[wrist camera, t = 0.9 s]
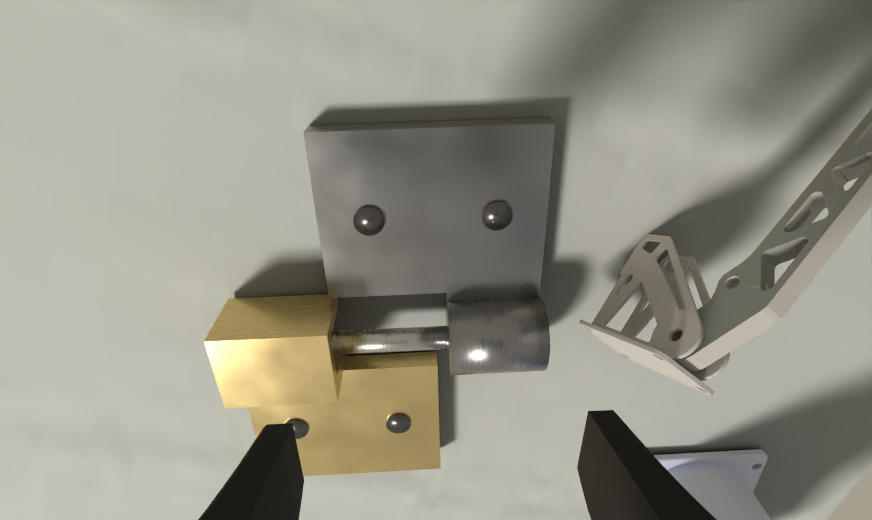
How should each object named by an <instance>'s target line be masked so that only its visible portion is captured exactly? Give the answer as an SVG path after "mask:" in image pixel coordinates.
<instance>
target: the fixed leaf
mask: <svg viewBox="0 0 872 520" xmlns="http://www.w3.org/2000/svg"><path fill="white" fill-rule="evenodd" d="M555 127H556V123H555V122H554V121H553V120H551V119H550V118H549V117H538V118H510V119H481V120H452V121H424V122H395V123H366V124H338V125H309V126H308V127H307V128H306V130H305V131H304V138H305V145H306V151H307V158H308V164H309V171H310V177H311V184H312V191H313V197H314V204H315V210H316V217H317V223H318V230H319V237H320V243H321V250H322V256H323V263H324V269H325V276H326V283H327V289H328V296H329V298H345V297H367V296H389V295H411V294H433V293H446V326H431V327H410V328H389V329H368V330H347V331H333V332H332V337H331V341H332V347H333V354H334V355H338V354H358V353H379V352H399V351H420V350H440V349H448V361H449V370H450V375H464V374H484V373H504V372H524V371H544V370H546V368H547V366H548V362H549V355H550V334H549V324H548V318H547V313H546V309H545V306H544V303H543V301H542V299H541V298H540V289H541V278H542V267H543V256H544V246H545V235H546V224H547V213H548V202H549V191H550V181H551V170H552V159H553V148H554V137H555Z"/></svg>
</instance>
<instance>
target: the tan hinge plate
mask: <svg viewBox="0 0 872 520" xmlns="http://www.w3.org/2000/svg"><path fill="white" fill-rule="evenodd" d="M337 310H338V298H329V296H328V294H320V295H298V296H275V297H253V298H231V299H228V301H227V302H226V304H225V306H224V308H223V309H222V311H221V313H220V314H219V316H218V318H217V320H216V321H215V323H214V325H213V327H212V328H211V330H210V332H209V333H208V335H207V337H206V339H205V340H204V344H205V347H206V350H207V353H208V357H209V360H210V363H211V366H212V369H213V373H214V376H215V379H216V382H217V385H218V389H219V392H220V395H221V398H222V401H223V405H224V408H241V407H248V409H249V412H250V416H251V420H252V423H253V427H254V430H255V434H256V437H258V435H259V434H260V432H261V430H262V429H263V428H264V427H265V426H266V425H267V424H288V423H293V428H294V433H295V438H296V443H297V448H298V453H299V458H300V462H301V467H302V472H303V476H313V475H331V474H349V473H367V472H385V471H403V470H421V469H439V468H440V434H439V398H438V365H437V352H418V353H398V354H377V355H357V356H346V354H338V355H334V354H333V347H332V341H331V337H332V332H333V328H334V323H335V319H336V314H337Z"/></svg>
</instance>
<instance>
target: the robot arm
mask: <svg viewBox="0 0 872 520" xmlns="http://www.w3.org/2000/svg"><path fill="white" fill-rule="evenodd" d="M767 460H768V456H767V455H766V453H765V452H764V451H763V450H759V449H754V450H736V451H719V452H701V453H683V454H665V455H653V454H652V453H651V452H650V451H649V450H648V449H647V448H646V447H645V445H644V444H643V443H642V442H641V441H640V440H639V439H638V438H637V437H636V435H635V434H634V433H633V432H632V431H631V430H630V429H629V427H628V426H627V425H626V424H625V423H624V422H623V421H622V420H621V418H620V417H619V416H618V415H617V414H616V413H615V412H614V411H613V410H607V411H588V415H587V420H586V425H585V431H584V436H583V441H582V446H581V451H580V456H579V462H578V467H577V468H578V473H579V477H580V481H581V485H582V489H583V493H584V497H585V500H586V504H587V508H588V511H589V514H590V517H591V520H771V519H770V517H769V516H768V514H767V513H766V511H765V510H764V508H763V507H762V505H761V504H760V503H759V501H758V500H757V498H756V497H755V495H754V494H753V492H754V489H755V487H756V485H757V483H758V480H759V478H760V476H761V473H762V471H763V469H764V467H765V464H766V462H767ZM303 484H304V477H303V472H302V467H301V462H300V458H299V453H298V448H297V443H296V438H295V433H294V428H293V423H288V424H267V425H266V426H265V427H264V428H263V429H262V430H261V432H260V434H259V435H258V437H257V438H256V440H255V441H254V443H253V444H252V446H251V447H250V449H249V450H248V452H247V453H246V455H245V456H244V458H243V459H242V461H241V462H240V464H239V465H238V467H237V468H236V469H235V471H234V472H233V474H232V475H231V477H230V478H229V479H228V481H227V482H226V483H225V485H224V486H223V488H222V489H221V490H220V492H219V493H218V494H217V496H216V497H215V498H214V500H213V501H212V503H211V504H210V505H209V507H208V508H207V509H206V511H205V512H204V513H203V514H202V516H201V517H200V518H199V519H198V520H299V513H300V506H301V499H302V492H303Z"/></svg>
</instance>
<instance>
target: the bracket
mask: <svg viewBox="0 0 872 520" xmlns="http://www.w3.org/2000/svg"><path fill="white" fill-rule="evenodd" d="M858 177H859V178H858ZM856 178H858V179H857V180H856V182H855V183H854V184H853V185H852V187H851V188H850V189H849V190H847V191H844V188H843V187H844V185H845V184H846V183H847V182H849V181H851V180H853V179H856ZM871 206H872V109H871V110H870V111H869V113H868V114H867V115H866V116H865V118H864V119H863V120H862V121H861V122H860V124H859V125H858V126H857V127H856V128H855V130H854V131H853V132H852V133H851V135H850V136H849V137H848V138H847V139H846V141H845V142H844V143H843V144H842V145H841V147H840V148H839V149H838V150H837V152H836V153H835V154H834V155H833V156H832V158H831V159H830V160H829V161H828V162H827V164H826V165H825V166H824V167H823V169H822V170H821V171H820V172H819V173H818V175H817V176H816V177H815V178H814V179H813V181H812V182H811V183H810V184H809V186H808V187H807V188H806V189H805V190H804V192H803V193H802V194H801V195H800V196H799V198H798V199H797V200H796V201H795V203H794V204H793V205H792V206H791V207H790V209H789V210H788V211H787V212H786V213H785V215H784V216H783V217H782V218H781V220H780V221H779V222H778V223H777V224H776V226H775V227H774V228H773V229H772V230H771V232H770V233H769V234H768V235H767V236H766V238H765V239H764V240H763V241H762V243H761V244H760V245H759V246H758V247H757V249H756V250H755V251H754V252H753V253H752V254H751V255H750V256H749V257H748V258H747V259H746V260H745V261H743V262H742V263H741V264H739V265H738V266H736V267H735V268H733V269H732V270H730V271H729V272H727V273H726V274H724V275H723V276H722V277H721V279H720V280H719V282H718V285H717V288H716V291H715V293H714V295H713V297H712V298H711V299H710V297H709V294H708V292H707V289H706V287H705V284H704V281H703V279H702V276H701V274H700V271H699V268H698V266H697V263H696V260H695V259H694V258H693V257H692V256H685V255H678V253H677V251H676V248H675V245H674V242H673V239H672V238H671V237H670V236H662V235H652V234H647V235H646V236H645V237H644V238H643V239H642V240H641V241H639V243H638V244H637V246H636V248H635V249H634V251H633V253H632V254H631V256H630V258H629V259H628V261H627V262H626V264H625V266H624V267H623V269H622V271H621V272H620V274H621V277H620V278H619V280H618V282H617V283H616V285H615V286H614V288H613V290H612V291H611V293H610V295H609V296H608V298H607V300H606V301H605V303H604V304H603V306H602V308H601V309H600V311H599V313H598V314H597V316H596V318H595V319H594V321H593V322H592V324H590V323H588V322H585V321H583V320H580V322H579V324H580V325H581V326H582V327H584V328H585V329H586V330H588V331H589V332H590V333H592V334H593V335H595V336H596V337H597V338H599V339H600V340H601V341H603V342H604V343H606V344H607V345H608V346H610V347H611V348H612V349H614V350H615V351H617V352H618V353H619V354H621V355H622V356H624V357H626V358H628V359H630V360H632V361H634V362H636V363H639V364H641V365H643V366H645V367H647V368H650V369H652V370H654V371H656V372H659V373H661V374H663V375H665V376H668V377H670V378H672V379H674V380H677V381H679V382H681V383H683V384H686V385H688V386H690V387H692V388H694V389H697V390H699V391H701V392H703V393H706V394H708V395H711V396H712V395H713V393H714V391H713V390H712V389H711V388H709V387H708V386H707V385H705V384H704V383H703V382H702V381H703V380H708V379H711V378H713V377H715V376H717V375H718V374H719V373H721V372H722V371H723V369H724V368H725V367H726V365H727V363H728V361H729V357H730V352H731V351H733V350H734V349H736V348H737V347H739V346H740V345H742V344H744V343H745V342H747V341H748V340H750V339H752V338H753V337H755V336H756V335H758V334H760V333H761V332H763V331H764V330H766V329H767V328H769V327H771V326H772V325H774V324H775V323H777V322H778V321H779V320H780V319H782V317H783V316H784V315H785V313H786V312H787V311H788V310H789V308H790V307H791V306H792V305H793V303H794V302H795V301H796V300H797V298H798V297H799V296H800V295H801V293H802V292H803V291H804V290H805V288H806V287H807V286H808V285H809V283H810V282H811V281H812V280H813V278H814V277H815V276H816V275H817V273H818V272H819V271H820V270H821V268H822V267H823V266H824V265H825V263H826V262H827V261H828V260H829V258H830V257H831V256H832V255H833V253H834V252H835V251H836V250H837V248H838V247H839V246H840V245H841V243H842V242H843V241H844V239H845V238H846V237H847V236H848V234H849V233H850V232H851V231H852V229H853V228H854V227H855V226H856V224H857V223H858V222H859V221H860V219H861V218H862V217H863V216H864V214H865V213H866V212H867V211H868V209H869V208H870V207H871ZM826 207H827V209H828V211H829V214H828V216H827V217H826V218H824V219H822V220H820V221H817V222H815V223H812V222H813V221H814V220H815V218H816V217H817V216H818V215H819V214H820V212H821V211H822V210H823V209H824V208H826ZM811 223H812V224H811ZM648 241H651V242H660V244H659V245H658V246H657V247H656V249H655V250H654V251H653V252H652V253H651V254H650V253H648V252H647V251H645V250H644V249H643V248H644V246H645V245H646V243H647V242H648ZM666 249H667V250H668V255H667V256H666V257H665V258H664V259H662V260H661V262H660V263H659V264H658V261H657V259H658V258H659V257H660V255H661V254H662V253H663V252H664V251H665V250H666ZM794 258H795V259H794ZM791 259H794V261H793V262H792V263H791V264H790V266H789V267H788V268H787V270H786V271H785V272H784V273H783V275H782V276H781V277H780V278H779V280H778V281H777V282H776V283H775V285H774V269H775V267H776V266H777V265H778V264H780V263H783V262H785V261H788V260H791ZM669 261H671V263H672V266H673V269H674V273H672V272H670V271H669V270H667V269H666V268H665V267H666V266H667V264H668V262H669ZM681 262H683V263H682V264H681ZM688 269H690V270H691V273H692V276H693V279H694V282H695V285H696V288H697V290H698V293H699V296H700V299H701V302H702V305H703V306H702V307H701V308H699V309H698V310H697V308H696V305H695V302H694V300H693V297H692V294H691V291H690V288H689V285H688V282H687V279H686V277H685V273H686V272H687V270H688ZM630 276H633V278H632V280H631V281H630V282H629V283H628V284H627V285H626V286H625V287H624V288H623V290H622V291H621V292H620V290H621V289H622V287H623V286H624V284H625V282H626V281H627V279H628V278H629V277H630ZM641 285H643V287H644V290H643V291H642V292H643V293H644V295H643V296H642V298H641V299H640V301H639V303H638V304H637V306H636V308H635V309H634V311H633V313H632V314H631V316H630V318H629V319H628V321H627V323H626V324H625V326H624V328H623V329H622V331H621V332H619V331H617V330H614V329H611V328H609V327H606V325H607V324H608V322H609V321H610V320H611V319H612V318H613V317H614V316H615V315H616V313H617V312H618V311H619V310H620V309H621V308H622V307H623V305H624V304H625V303H626V302H627V301H628V300H629V299H630V297H631V296H632V295H633V294H634V293H635V292H636V291H637V289H638V288H639V287H640V286H641ZM619 292H620V293H619ZM648 300H649V303H650V304H649V305H648V306H647V307H646V308H645V309H644V307H645V305H646V304H647V302H648ZM643 309H644V310H643ZM642 310H643V311H642ZM654 316H655V319H656V321H657V326H656V327H655V329H654V331H653V334H652V337H651V341H650V342H646V341H643V340H640V339H638V338H635V337H636V336H637V335H638V333H639V332H640V331H641V330H642V329H643V328H644V327H645V326H646V324H647V323H648V322H649V321H650V320H651V319H652V318H653V317H654Z"/></svg>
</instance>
